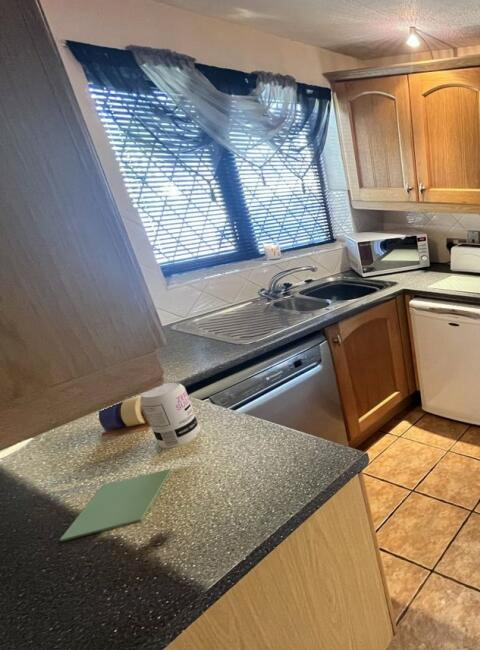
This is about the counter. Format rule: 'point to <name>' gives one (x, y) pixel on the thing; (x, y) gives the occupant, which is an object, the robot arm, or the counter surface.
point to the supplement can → (170, 414)
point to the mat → (117, 505)
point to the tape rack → (126, 429)
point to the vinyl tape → (111, 417)
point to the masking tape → (132, 411)
